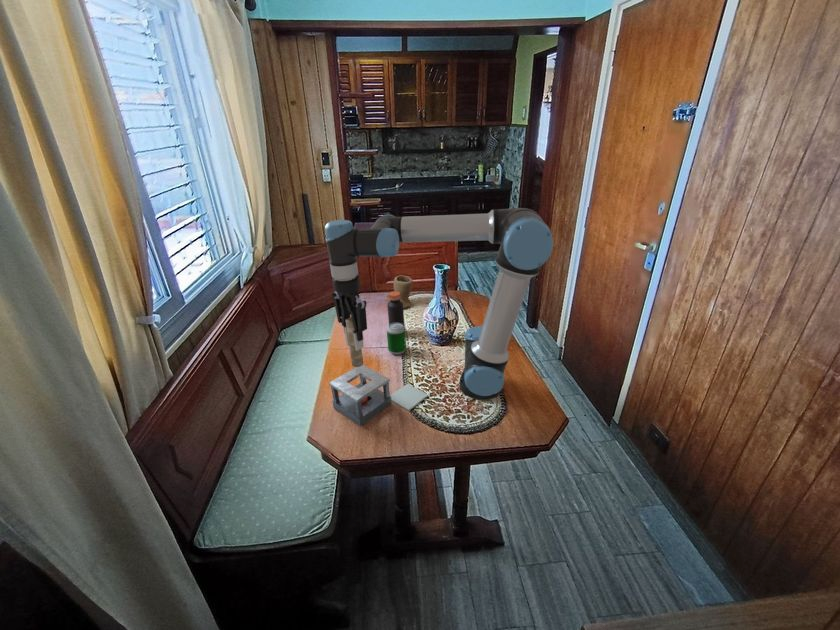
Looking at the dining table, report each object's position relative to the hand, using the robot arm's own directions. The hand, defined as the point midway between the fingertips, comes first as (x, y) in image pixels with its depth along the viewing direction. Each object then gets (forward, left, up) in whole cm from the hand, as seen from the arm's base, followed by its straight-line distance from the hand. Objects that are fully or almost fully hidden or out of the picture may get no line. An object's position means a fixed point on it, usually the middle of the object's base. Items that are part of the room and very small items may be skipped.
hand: (355, 346), depth 120 cm
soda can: (+15, -32, -24) cm, 43 cm away
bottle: (+25, -42, -24) cm, 54 cm away
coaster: (-9, -13, -24) cm, 28 cm away
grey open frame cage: (0, 0, -24) cm, 24 cm away
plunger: (0, 0, -23) cm, 23 cm away
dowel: (0, 0, -7) cm, 7 cm away
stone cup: (+46, -66, -24) cm, 84 cm away
